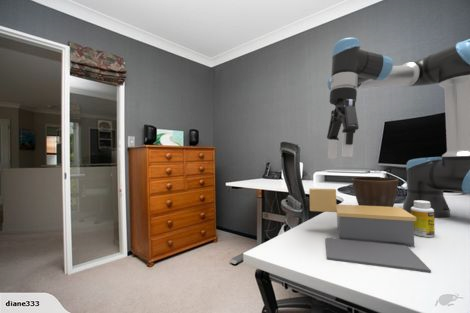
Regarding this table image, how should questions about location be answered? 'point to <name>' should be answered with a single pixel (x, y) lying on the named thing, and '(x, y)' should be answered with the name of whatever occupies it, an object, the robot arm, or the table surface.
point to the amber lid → (354, 207)
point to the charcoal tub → (376, 230)
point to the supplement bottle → (423, 218)
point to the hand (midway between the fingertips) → (338, 158)
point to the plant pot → (375, 191)
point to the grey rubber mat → (374, 254)
